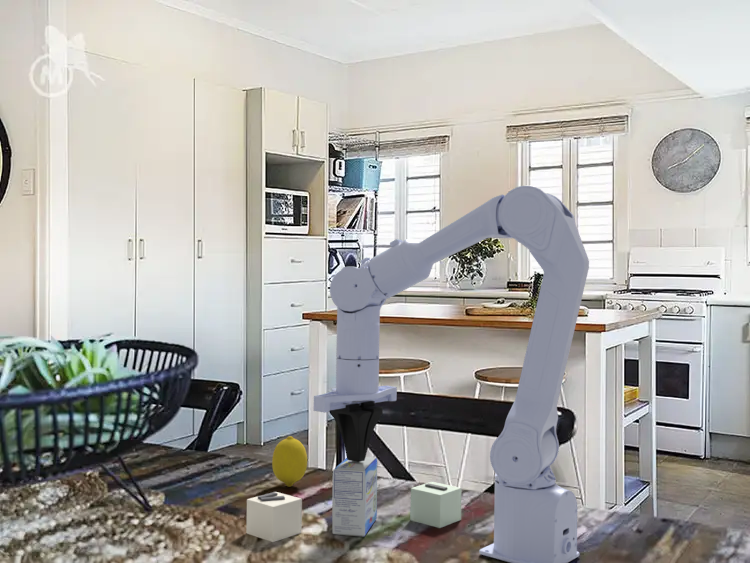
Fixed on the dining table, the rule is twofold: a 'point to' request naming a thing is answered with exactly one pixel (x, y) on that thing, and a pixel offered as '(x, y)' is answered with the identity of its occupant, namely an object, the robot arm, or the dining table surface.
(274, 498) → the cream digit block
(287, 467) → the lemon
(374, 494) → the medicine box
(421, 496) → the sage digit block
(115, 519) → the dining table surface
